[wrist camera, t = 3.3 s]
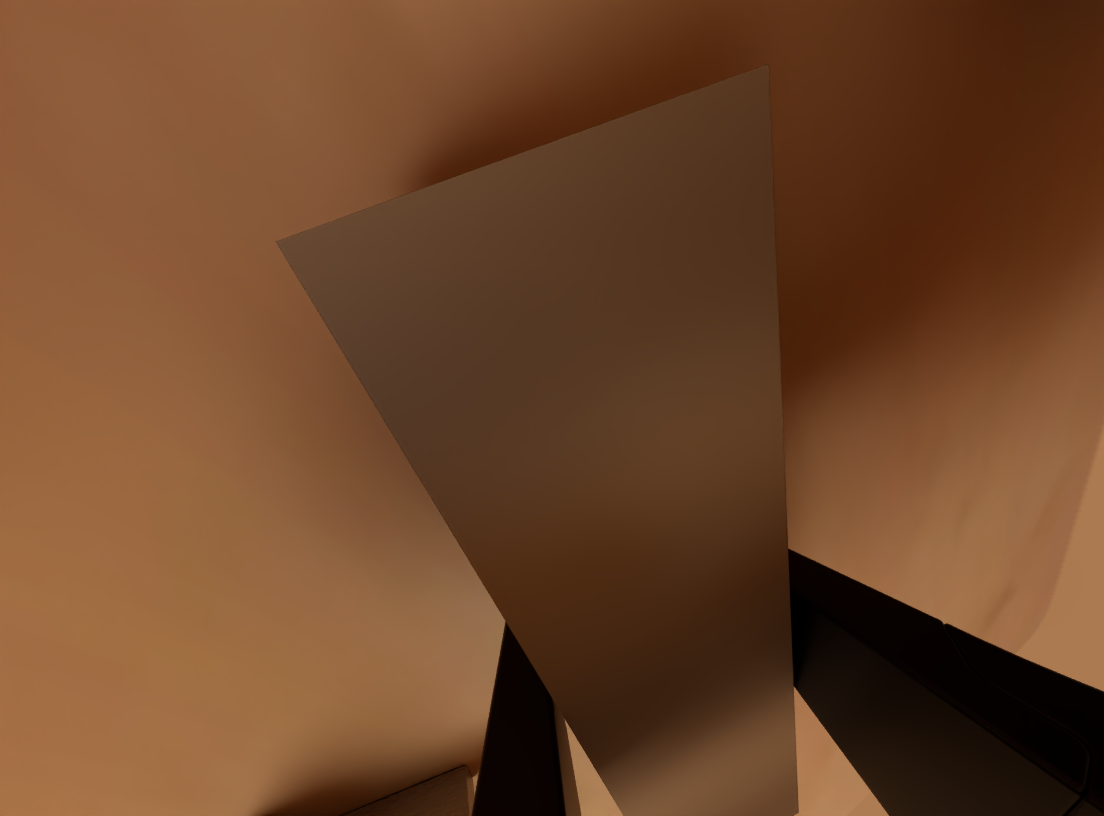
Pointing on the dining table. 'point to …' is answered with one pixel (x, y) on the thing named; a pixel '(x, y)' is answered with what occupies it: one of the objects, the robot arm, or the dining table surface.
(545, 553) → the rail
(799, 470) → the dining table surface
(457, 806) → the bracket
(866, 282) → the dining table surface
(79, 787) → the dining table surface
